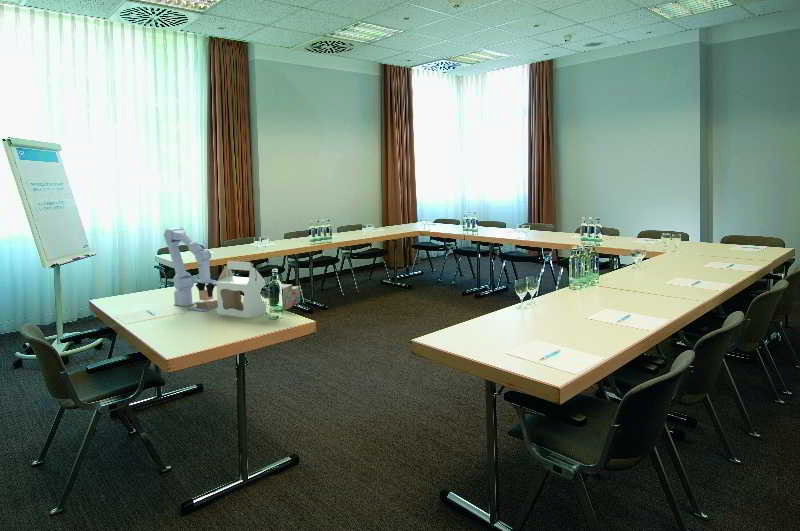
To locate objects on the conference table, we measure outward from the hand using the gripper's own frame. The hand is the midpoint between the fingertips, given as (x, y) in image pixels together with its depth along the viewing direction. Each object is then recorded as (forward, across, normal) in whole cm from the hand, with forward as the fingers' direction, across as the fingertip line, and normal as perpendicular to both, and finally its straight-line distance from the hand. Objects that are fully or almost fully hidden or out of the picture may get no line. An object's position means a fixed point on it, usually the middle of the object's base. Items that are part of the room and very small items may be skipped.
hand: (206, 296), depth 299 cm
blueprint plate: (+6, 0, 0) cm, 6 cm away
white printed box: (+7, +41, +18) cm, 45 cm away
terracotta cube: (+2, 0, 0) cm, 2 cm away
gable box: (+7, +28, -4) cm, 29 cm away
